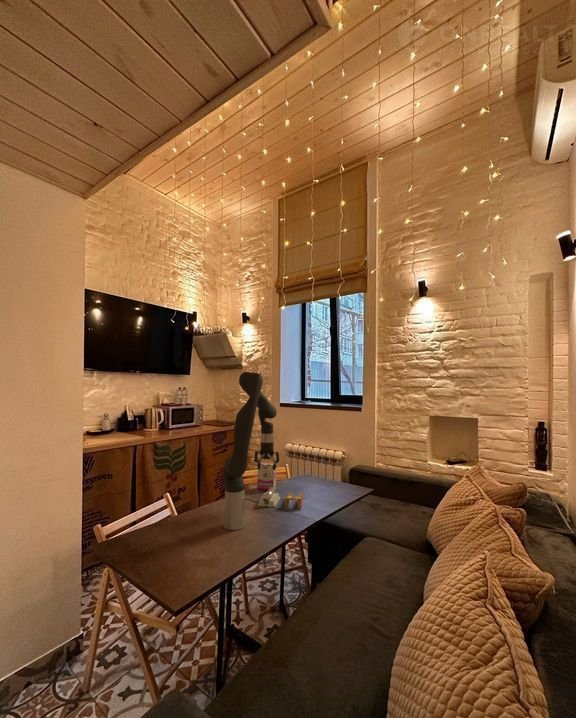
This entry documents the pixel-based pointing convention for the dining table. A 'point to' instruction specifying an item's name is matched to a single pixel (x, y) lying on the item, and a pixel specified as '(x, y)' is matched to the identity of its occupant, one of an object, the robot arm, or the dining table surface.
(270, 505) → the axle cradle
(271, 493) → the steel axle
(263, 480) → the candy bar box
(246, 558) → the dining table surface
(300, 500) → the bore block
